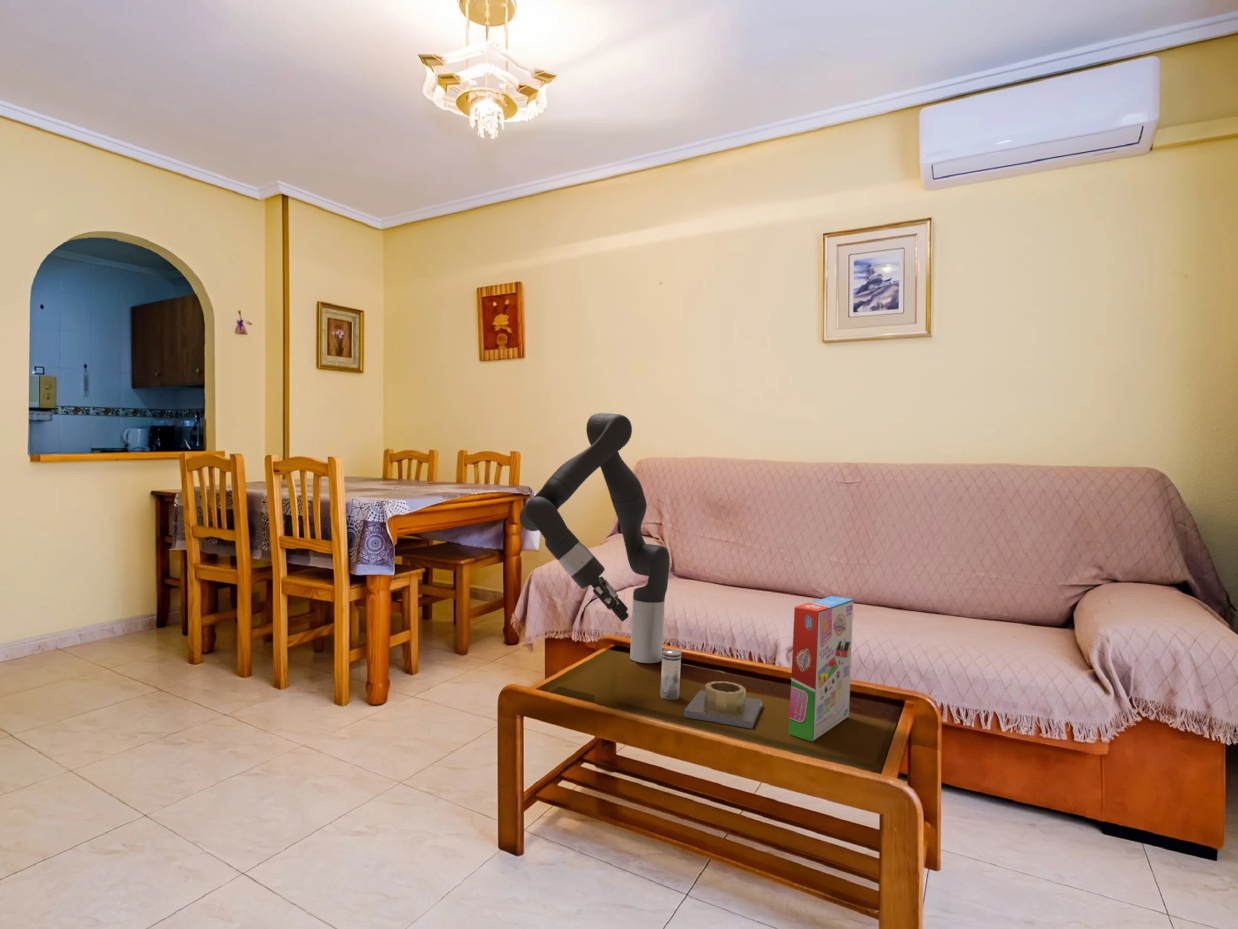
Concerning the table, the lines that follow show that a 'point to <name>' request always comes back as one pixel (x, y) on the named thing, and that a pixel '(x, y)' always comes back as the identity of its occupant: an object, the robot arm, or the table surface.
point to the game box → (820, 666)
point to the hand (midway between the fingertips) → (625, 615)
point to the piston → (670, 674)
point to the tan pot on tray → (724, 705)
